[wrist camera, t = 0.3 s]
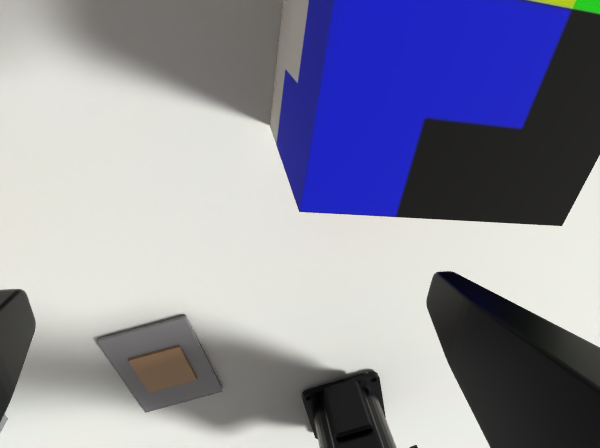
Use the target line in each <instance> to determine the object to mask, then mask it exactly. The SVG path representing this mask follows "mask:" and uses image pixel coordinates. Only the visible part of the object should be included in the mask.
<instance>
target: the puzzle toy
mask: <svg viewBox="0 0 600 448" xmlns="http://www.w3.org/2000/svg"><path fill="white" fill-rule="evenodd" d="M270 127H271V130H272V133H273V136H274V139H275V142H276V145H277V148H278V151H279V154H280V157H281V160H282V162H283V165H284V168H285V171H286V174H287V177H288V180H289V183H290V186H291V189H292V192H293V195H294V198H295V200H296V203H297V206H298V209H299V212H313V213H332V214H350V215H369V216H387V217H406V218H424V219H443V220H461V221H480V222H499V223H517V224H536V225H554V226H562V225H563V223H564V221H565V219H566V217H567V215H568V213H569V212H570V210H571V208H572V206H573V204H574V202H575V200H576V198H577V197H578V195H579V193H580V191H581V189H582V187H583V185H584V183H585V181H586V180H587V178H588V176H589V174H590V172H591V170H592V168H593V166H594V165H595V163H596V161H597V159H598V157H599V155H600V0H283V7H282V16H281V26H280V35H279V44H278V54H277V63H276V72H275V81H274V91H273V100H272V109H271V119H270Z"/></svg>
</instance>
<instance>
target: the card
mask: <svg viewBox="0 0 600 448" xmlns="http://www.w3.org/2000/svg"><path fill="white" fill-rule="evenodd" d="M97 343H98V345H99V346H100V348H101V349H102V351H103V352H104V354H105V355H106V356H107V358H108V359H109V361H110V362H111V364H112V365H113V366H114V368H115V369H116V371H117V372H118V374H119V375H120V377H121V378H122V379H123V381H124V382H125V384H126V385H127V387H128V388H129V390H130V391H131V392H132V394H133V395H134V397H135V398H136V400H137V401H138V402H139V404H140V405H141V407H142V408H143V410H144V411H145V413H146V412H150V411H153V410H157V409H160V408H164V407H168V406H171V405H175V404H178V403H182V402H186V401H189V400H193V399H196V398H200V397H204V396H207V395H211V394H214V393H218V392H222V387H221V385H220V383H219V381H218V379H217V377H216V375H215V373H214V371H213V369H212V367H211V365H210V363H209V361H208V359H207V357H206V355H205V353H204V351H203V349H202V347H201V345H200V343H199V341H198V339H197V337H196V335H195V333H194V331H193V329H192V327H191V325H190V323H189V321H188V319H187V317H186V315H183V316H180V317H176V318H172V319H168V320H165V321H161V322H157V323H154V324H150V325H146V326H142V327H139V328H135V329H131V330H128V331H124V332H120V333H116V334H113V335H109V336H105V337H102V338H98V339H97Z"/></svg>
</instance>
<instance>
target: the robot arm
mask: <svg viewBox="0 0 600 448" xmlns="http://www.w3.org/2000/svg"><path fill="white" fill-rule="evenodd" d="M427 308H428V311H429V314H430V317H431V319H432V322H433V325H434V327H435V330H436V333H437V335H438V338H439V341H440V343H441V346H442V348H443V351H444V354H445V356H446V359H447V361H448V363H449V366H450V368H451V370H452V372H453V374H454V376H455V378H456V380H457V382H458V384H459V386H460V388H461V390H462V392H463V394H464V396H465V398H466V400H467V402H468V404H469V406H470V408H471V410H472V412H473V414H474V416H475V418H476V420H477V422H478V424H479V426H480V428H481V430H482V432H483V434H484V436H485V438H486V440H487V441H488V443H489V445H490V447H491V448H600V347H598V346H596V345H594V344H592V343H590V342H588V341H586V340H584V339H582V338H580V337H578V336H576V335H575V334H573V333H571V332H569V331H567V330H565V329H563V328H561V327H559V326H557V325H555V324H553V323H551V322H549V321H547V320H545V319H544V318H542V317H540V316H538V315H536V314H534V313H532V312H530V311H528V310H526V309H524V308H522V307H520V306H518V305H516V304H514V303H513V302H511V301H509V300H507V299H505V298H503V297H501V296H499V295H497V294H495V293H493V292H491V291H489V290H487V289H485V288H483V287H482V286H480V285H478V284H476V283H474V282H472V281H470V280H468V279H466V278H464V277H462V276H460V275H458V274H456V273H454V272H451V271H447V272H437V273H435V274H434V275H433V278H432V281H431V285H430V289H429V292H428V296H427ZM35 325H36V323H35V318H34V315H33V312H32V309H31V306H30V303H29V300H28V297H27V294H26V293H25V291H23V290H21V289H7V290H0V422H1V420H2V418H3V416H4V414H5V412H6V409H7V407H8V405H9V403H10V400H11V398H12V395H13V392H14V390H15V387H16V384H17V381H18V378H19V375H20V372H21V370H22V367H23V364H24V361H25V358H26V355H27V352H28V349H29V346H30V343H31V340H32V338H33V335H34V331H35ZM302 398H303V402H304V405H305V408H306V411H307V414H308V417H309V420H310V423H311V426H312V429H313V432H314V435H315V438H316V439H318V441H319V446H320V448H396V445H395V443H394V440H393V437H392V435H391V432H390V429H389V427H388V424H387V421H386V419H385V411H384V404H383V398H382V391H381V385H380V378H379V376H378V374H377V373H376V372H370V373H367V374H363V375H360V376H356V377H352V378H349V379H345V380H342V381H338V382H335V383H331V384H327V385H324V386H320V387H317V388H313V389H310V390H306V391H304V392H303V393H302ZM410 448H418V447H417V445H414V446H411V447H410Z"/></svg>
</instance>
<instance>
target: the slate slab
mask: <svg viewBox="0 0 600 448" xmlns="http://www.w3.org/2000/svg"><path fill="white" fill-rule="evenodd" d="M7 419H8V418H7V417H6V416H5V415H4V416H3V418H2V420H1V422H0V433H1V431H2V429H3V427H4V425H5V423H6V421H7Z"/></svg>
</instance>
